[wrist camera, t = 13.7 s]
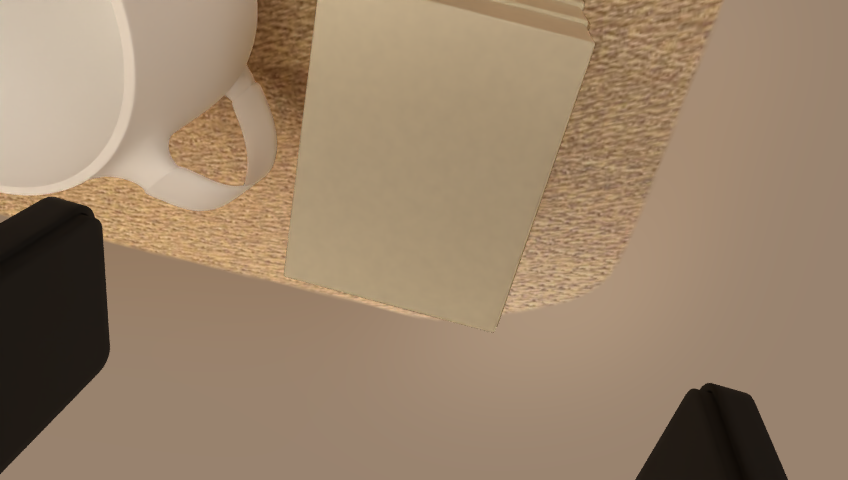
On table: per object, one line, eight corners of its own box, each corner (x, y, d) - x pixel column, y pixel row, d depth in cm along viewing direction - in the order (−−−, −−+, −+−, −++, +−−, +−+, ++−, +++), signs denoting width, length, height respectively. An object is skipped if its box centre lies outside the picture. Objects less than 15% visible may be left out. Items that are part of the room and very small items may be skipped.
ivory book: (587, 24, 17) (597, 43, 15) (499, 284, 22) (495, 334, 19) (350, -37, 18) (319, -28, 15) (311, 234, 22) (282, 277, 19)
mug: (51, -50, 25) (-301, -24, 14) (191, -215, 21) (-136, -343, 11) (246, 175, 28) (81, 329, 18) (393, 65, 25) (296, 174, 14)
